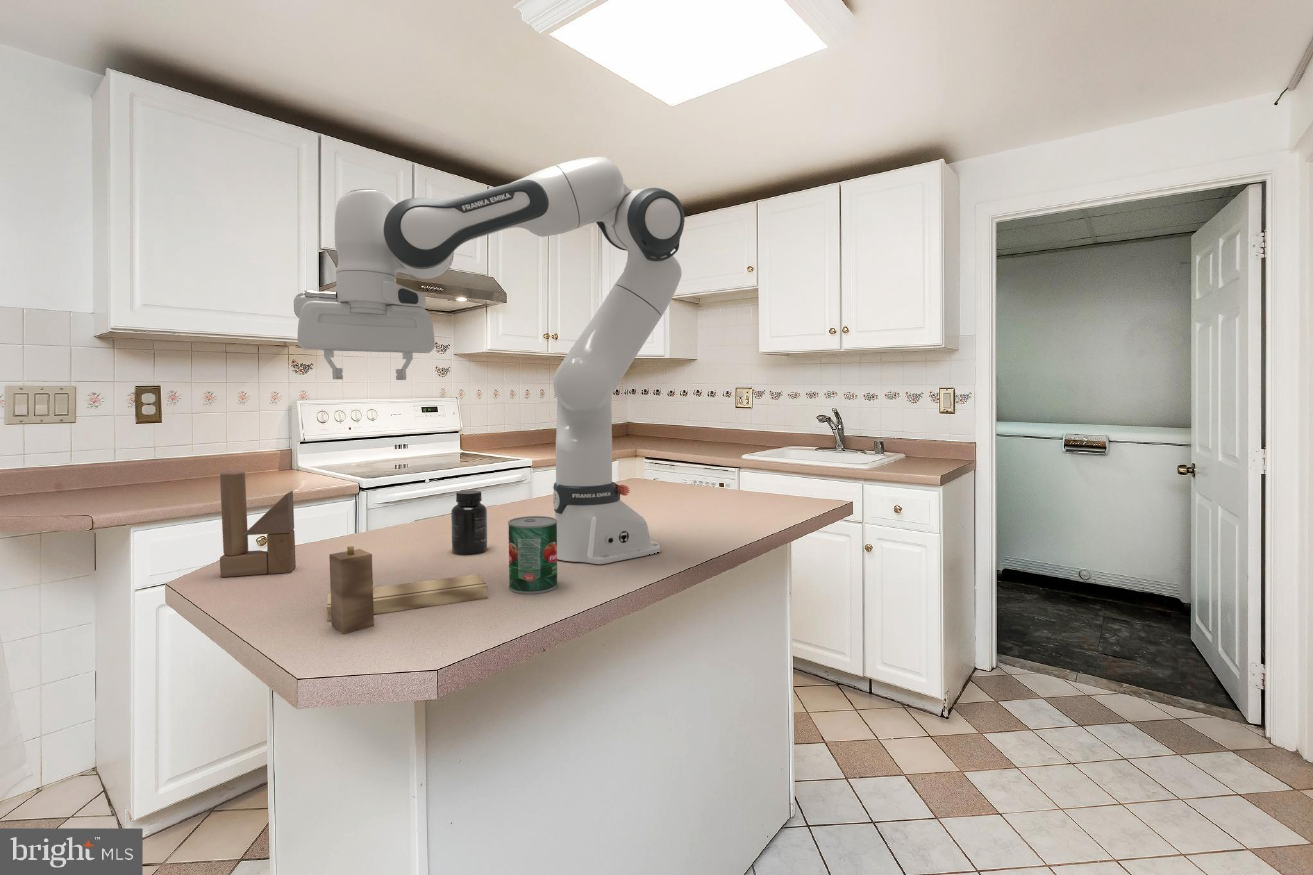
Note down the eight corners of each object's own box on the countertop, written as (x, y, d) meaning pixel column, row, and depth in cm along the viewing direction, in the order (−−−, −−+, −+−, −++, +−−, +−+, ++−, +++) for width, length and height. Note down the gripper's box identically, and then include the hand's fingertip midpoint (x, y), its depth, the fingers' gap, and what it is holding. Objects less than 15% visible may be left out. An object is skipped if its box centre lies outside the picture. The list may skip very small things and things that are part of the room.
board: (479, 586, 102) (478, 573, 102) (487, 597, 96) (487, 584, 96) (328, 606, 92) (327, 592, 91) (327, 621, 86) (327, 606, 86)
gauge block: (361, 618, 87) (359, 541, 86) (374, 625, 84) (371, 546, 84) (331, 626, 84) (329, 547, 83) (343, 634, 81) (340, 552, 81)
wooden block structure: (290, 573, 109) (287, 471, 107) (219, 578, 105) (214, 473, 104) (296, 567, 112) (292, 469, 111) (227, 572, 109) (223, 471, 108)
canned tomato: (564, 589, 100) (564, 522, 100) (517, 597, 96) (516, 527, 96) (548, 576, 107) (547, 514, 106) (503, 583, 103) (502, 518, 103)
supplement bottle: (485, 545, 129) (484, 488, 128) (489, 553, 123) (488, 493, 122) (450, 548, 126) (449, 490, 125) (453, 556, 120) (452, 495, 119)
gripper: (291, 286, 92) (295, 378, 93) (435, 296, 102) (437, 379, 103) (294, 292, 98) (297, 379, 99) (429, 301, 108) (432, 380, 109)
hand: (370, 379), depth 101 cm, fingers open, 8 cm apart
